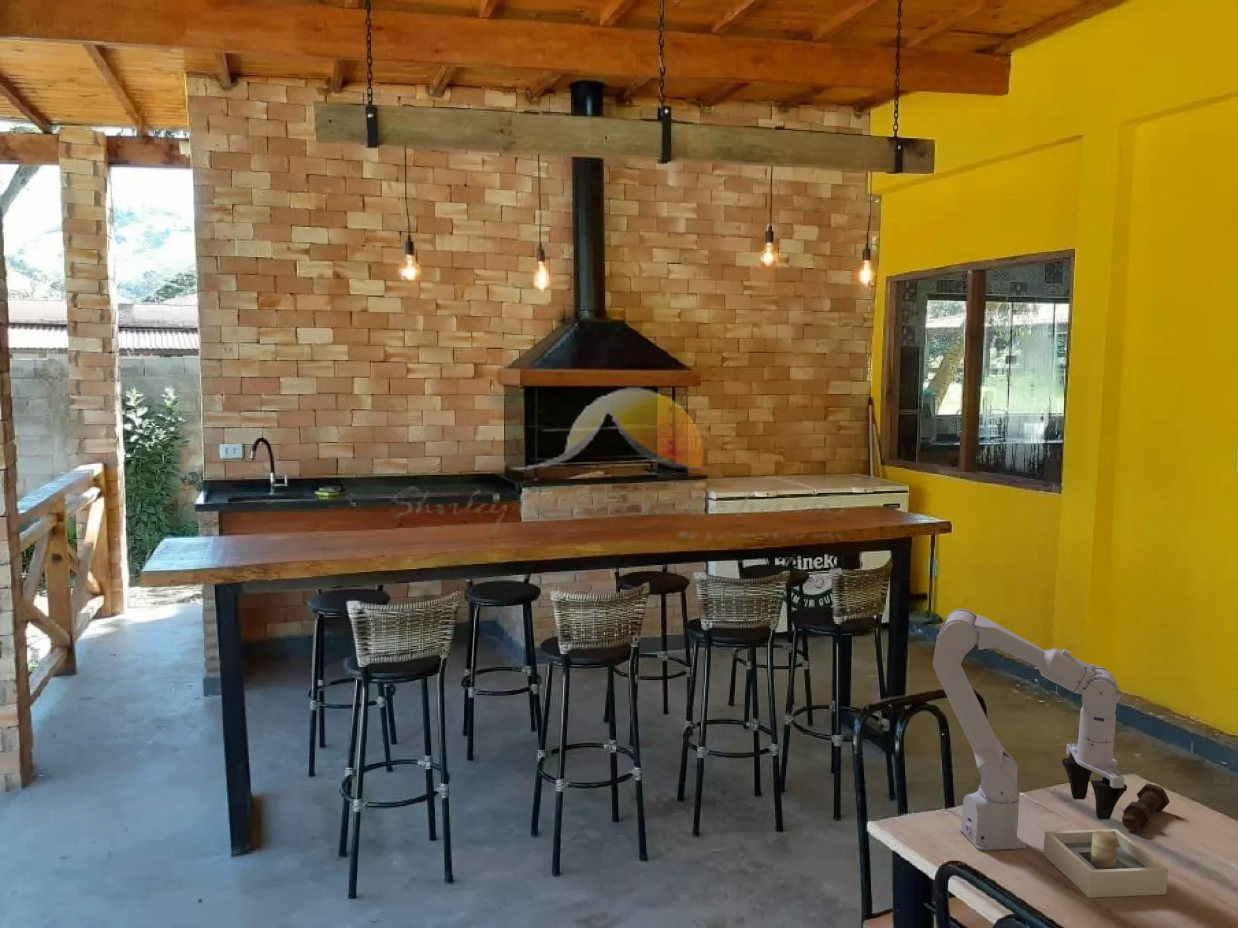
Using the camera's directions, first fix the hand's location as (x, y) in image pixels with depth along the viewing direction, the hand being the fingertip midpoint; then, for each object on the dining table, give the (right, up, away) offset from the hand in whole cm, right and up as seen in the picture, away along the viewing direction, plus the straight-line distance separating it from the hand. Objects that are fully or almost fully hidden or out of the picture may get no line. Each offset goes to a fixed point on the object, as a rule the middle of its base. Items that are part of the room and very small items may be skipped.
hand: (1090, 808), depth 168 cm
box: (0, -10, -4) cm, 11 cm away
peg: (0, -10, -4) cm, 11 cm away
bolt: (+19, -9, +16) cm, 26 cm away
